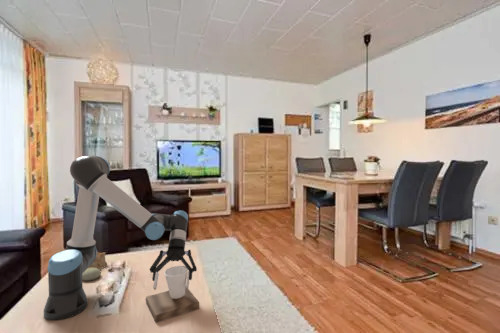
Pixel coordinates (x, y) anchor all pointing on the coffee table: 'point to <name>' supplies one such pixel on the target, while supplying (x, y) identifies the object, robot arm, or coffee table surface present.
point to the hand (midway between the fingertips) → (171, 288)
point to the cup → (176, 281)
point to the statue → (99, 261)
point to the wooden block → (170, 305)
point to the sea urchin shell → (91, 274)
